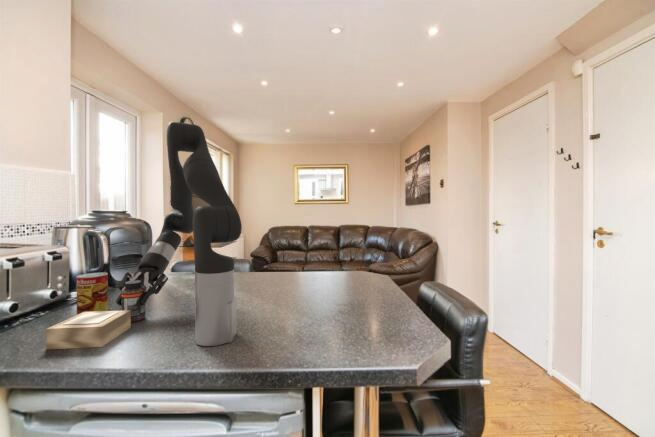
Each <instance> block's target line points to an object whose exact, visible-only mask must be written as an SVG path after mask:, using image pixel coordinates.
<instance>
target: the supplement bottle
mask: <svg viewBox="0 0 655 437" xmlns="http://www.w3.org/2000/svg"><path fill="white" fill-rule="evenodd" d="M124 286H125V289H124V290H123V291H120V292H121V293H120V294H121V304H122V306H121V311H122V310H131V323H135V322H138V321H139V322H140V321H141V320H143V319H145V317H146V303H145V304H144V305H143V306H142V307H139V306H138V305H137V304H136V302H137V300H138V299H139V297H140V295H141V294H142V292H144V286H142V287H141V281H139V280H135V281H128V282H126V283H125V285H124Z"/></svg>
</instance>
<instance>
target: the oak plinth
mask: <svg viewBox="0 0 655 437" xmlns="http://www.w3.org/2000/svg"><path fill="white" fill-rule="evenodd" d="M131 324H132V322H131V310H122V309H121V310H107V311H94V312H82V313H80V314H78V315H77V314H76V315H74V316H71V317H69V318H67V319H65V320H63V321H61V322H58V323H56V324H54V325H52V326H50V327H47V328H46V329H45V332H46V333H45V334H46V335H45V338H46V339H45V341H46V343H45V345H46V350H63V349H64V350H65V349H83V348H84V349H85V348H86V349H87V348H103V347H104V346H106V345H107V344H108V343H110V342H112V341H113V340H114V339H116V338H117V337H119V336H121V335H122V334H123V333H125V332H126V331H128V330H129V329H131V327H132V325H131Z"/></svg>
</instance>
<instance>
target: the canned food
mask: <svg viewBox="0 0 655 437" xmlns="http://www.w3.org/2000/svg"><path fill="white" fill-rule="evenodd" d="M75 277H76V315H78V314H80V313H82V312H94V311H109V274H108V272H90V273H83V274H79V275H76V276H75Z"/></svg>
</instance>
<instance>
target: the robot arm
mask: <svg viewBox="0 0 655 437" xmlns="http://www.w3.org/2000/svg"><path fill="white" fill-rule="evenodd" d="M166 147H167V148H166V149H167V159H168V169H169V177H170V179H169V180H170V202H169V203H170V206H171V208H173V209H175V210H177V211H178V212H177V211H170V212H169V213H167V214H166V215H165V218H164V221H163V224H162V228H161V232H160V234H159V235H158V237H157V238H156V240H155V242H154V243H153V244H152V246H150V247H149V249H148V251H147V252H146V254H145V255H144V257H143V258H142V259H141V261H140V262H139V264H138V269H137V270H136V271H135V272H134V273H130V272H129V271H128V272H125V274H124V276H123V277H122V279H121V281H120V282H119V285H118V286H117V289H118V290H119V291H120V292H122V291H123V290H124V289H125V283H126V282H128V281H135V280H139V281H141V287H143V288H144V292H142V294H141V295H140V297H139V299H138V300H137V302H136V304H137V305H138V306H139V307H142V306H143V305H144V304H145V305H146V303H147V302H148V300H149V297H151V296H152V295H158V294H159V292H161V290H162V289H163V287H164V286H165V285H166V284H167V282H168V280H169V277H168V276H167V275H166V274H165V272H166V269H167V268H168V266H169V265H170V263H171V261H172V259H173V257H174V255H175V252H177V249H178V247H179V246H180V245H181V242H182V238H181V235H180V234H178V233H182V234H187V235H188V234H191V233H192V234H193V236H192V237H193V256H194V322H195V325H194V326H195V328H194V329H195V330H194V331H195V333H194V335H195V336H194V337H195V343H196V345H199V346H202V347H215V346H220V345H223V344H227V343H232V342H233V341H234V338H235V336H236V335H237V332H238V331H237V330H238V329H237V328H238V327H237V325H238V324H237V296H235V260H234V258H233V257H231V256H227V255H225V254H222V253H218V252H216V251H214V250H213V248H212V244H218V243H219V244H223V243H231V242H235V241H237V240H239V238H240V236H241V234H242V220H241V217H240V214H239V211H238V209H237V208H236V206H235V204H234V202H233V200H232V199H231V197H230V196H229V194H228V192H227V191H226V188H225V186H224V183H223V182H222V179H221V177H220V173H219V170H218V169H217V167H216V165H215V162H214V160H213V157H212V156H211V153H210V150H209V147H208V143H207V140H206V136H205V132H204V130H203V129H202V128H201V126H200V125H197V124H193V123H186V122H180V121H179V122H178V121H170V122H169V123H168V125H167V128H166ZM179 152H186V153H191V154H190V155H189V156H188V157H187V158H186V159H185V161H184V163H183V165H182V164H181V162H180V157H179ZM193 194H194V195H195V196H197V197H198V198H199V199H201V201H203V202H205V203H206V204H208V205H201V206H200V205H199V206H197V207H196V208H195V209H194V206H193ZM115 302H116V305H118V306H119V307H120V306H121V307H122V304H121V293H120V294H119V295H118V297H117V298H116V299H115Z"/></svg>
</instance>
